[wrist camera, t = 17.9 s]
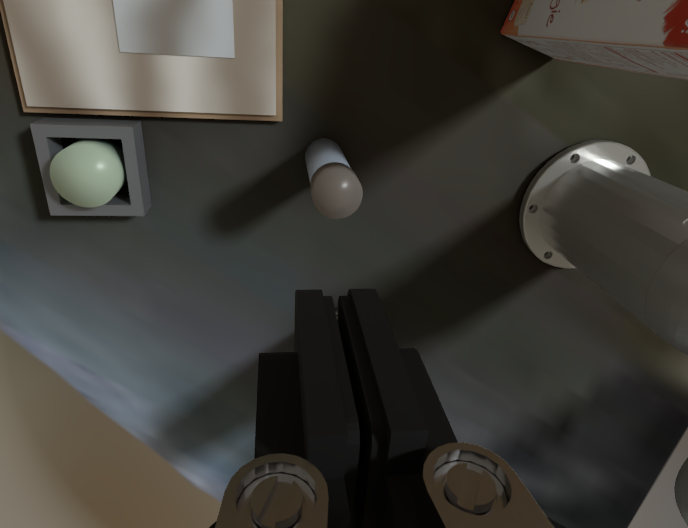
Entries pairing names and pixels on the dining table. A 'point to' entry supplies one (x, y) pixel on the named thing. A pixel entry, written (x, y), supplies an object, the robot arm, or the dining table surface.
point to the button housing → (128, 131)
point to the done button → (89, 172)
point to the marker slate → (332, 180)
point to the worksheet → (148, 57)
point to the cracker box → (606, 33)
